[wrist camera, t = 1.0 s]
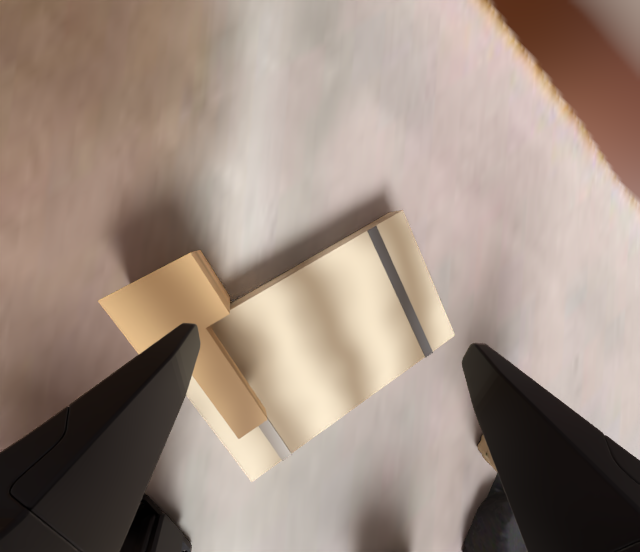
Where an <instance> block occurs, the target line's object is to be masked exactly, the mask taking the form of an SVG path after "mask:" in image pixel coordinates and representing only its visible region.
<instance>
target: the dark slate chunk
mask: <svg viewBox="0 0 640 552" xmlns="http://www.w3.org/2000/svg"><path fill="white" fill-rule="evenodd" d="M464 545H465V548H464V550H463V551H462V552H528V551H527V549H526V546H525V544H524V541H523V538H522V536H521V533H520V530H519V528H518V525H517V522H516V520H515V517H514V514H513V512H512V509H511V507H510V504H509V501H508V499H507V496H506V493H505V491H504V488H503V485H502V483H501V480H500V477H499V475H498V473H497V476H496V478H495V481H494V483H493V485H492V487H491V490H490V492H489V494H488V496H487V498H486V499H485V501H484V502H483V503H482V504H481V505H480V507H479V509H478V511H477V513H476V515H475V517H474V519H473V522H472V525H471V527H470V529H469V532H468V534H467V536H466V539H465V542H464Z"/></svg>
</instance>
